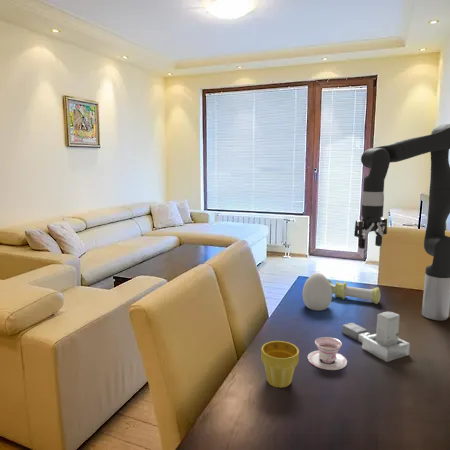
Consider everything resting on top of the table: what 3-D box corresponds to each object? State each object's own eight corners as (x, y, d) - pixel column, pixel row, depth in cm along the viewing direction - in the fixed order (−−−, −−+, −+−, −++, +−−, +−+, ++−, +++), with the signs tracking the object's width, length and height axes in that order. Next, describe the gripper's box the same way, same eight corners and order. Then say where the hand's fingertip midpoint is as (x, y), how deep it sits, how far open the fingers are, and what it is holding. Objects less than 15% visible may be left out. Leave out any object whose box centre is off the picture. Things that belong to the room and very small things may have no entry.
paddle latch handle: (357, 328, 143) (357, 318, 143) (408, 354, 124) (409, 343, 123) (336, 334, 139) (337, 323, 138) (386, 362, 119) (387, 349, 119)
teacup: (324, 374, 113) (325, 354, 112) (299, 356, 123) (300, 337, 122) (355, 365, 118) (356, 346, 117) (329, 348, 128) (330, 331, 127)
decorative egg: (335, 305, 167) (336, 272, 164) (326, 314, 157) (327, 279, 154) (308, 300, 173) (309, 267, 171) (297, 308, 163) (298, 274, 161)
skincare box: (386, 354, 123) (388, 318, 121) (374, 348, 127) (376, 313, 125) (398, 350, 126) (401, 314, 124) (386, 344, 130) (388, 310, 128)
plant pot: (289, 396, 102) (290, 362, 100) (254, 384, 107) (254, 351, 106) (303, 378, 110) (304, 346, 109) (270, 368, 116) (271, 337, 114)
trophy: (381, 284, 171) (314, 275, 184) (380, 289, 165) (310, 279, 177) (380, 302, 173) (313, 291, 185) (378, 307, 166) (309, 296, 179)
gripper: (378, 202, 148) (375, 243, 150) (350, 203, 141) (348, 247, 144) (394, 203, 141) (391, 247, 144) (366, 205, 135) (364, 251, 137)
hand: (370, 247), depth 144 cm, fingers open, 8 cm apart
